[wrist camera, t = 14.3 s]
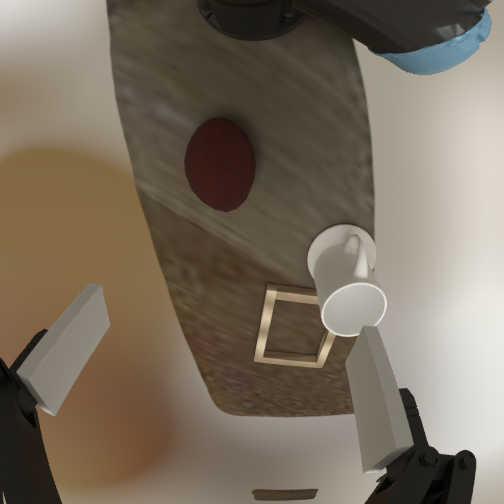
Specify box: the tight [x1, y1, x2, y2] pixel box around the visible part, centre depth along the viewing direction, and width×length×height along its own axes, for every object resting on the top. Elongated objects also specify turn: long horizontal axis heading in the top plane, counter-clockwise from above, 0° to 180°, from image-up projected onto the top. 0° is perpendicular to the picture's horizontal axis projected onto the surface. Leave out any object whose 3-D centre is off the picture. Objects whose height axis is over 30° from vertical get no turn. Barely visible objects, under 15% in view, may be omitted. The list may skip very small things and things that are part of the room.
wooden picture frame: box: [254, 283, 336, 368], centre depth 49 cm, size 17×14×2 cm
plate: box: [307, 224, 376, 278], centre depth 42 cm, size 11×11×1 cm
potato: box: [184, 118, 255, 212], centre depth 33 cm, size 9×12×9 cm
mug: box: [314, 234, 387, 337], centre depth 37 cm, size 9×12×11 cm
